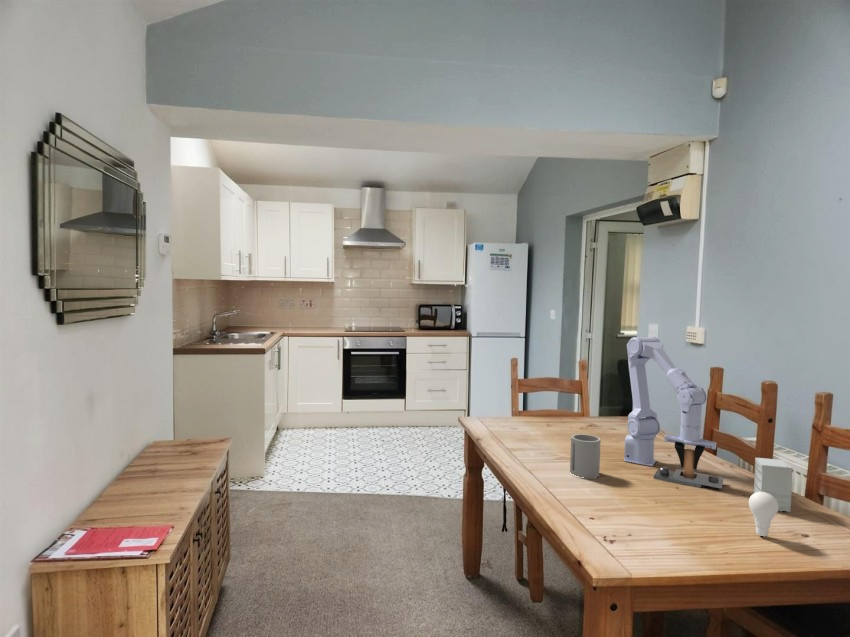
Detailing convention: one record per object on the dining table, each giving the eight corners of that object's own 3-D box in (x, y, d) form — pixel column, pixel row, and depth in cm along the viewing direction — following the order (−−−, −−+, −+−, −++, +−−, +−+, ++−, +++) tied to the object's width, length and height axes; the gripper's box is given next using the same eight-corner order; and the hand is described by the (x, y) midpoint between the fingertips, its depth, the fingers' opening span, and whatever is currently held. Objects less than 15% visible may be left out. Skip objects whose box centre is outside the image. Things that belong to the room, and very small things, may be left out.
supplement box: (782, 503, 149) (784, 459, 149) (791, 513, 142) (793, 467, 142) (752, 499, 152) (754, 456, 151) (759, 509, 145) (761, 464, 144)
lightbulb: (741, 531, 131) (743, 488, 130) (764, 530, 131) (766, 487, 131) (758, 542, 125) (761, 497, 124) (782, 542, 125) (785, 497, 125)
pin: (681, 478, 165) (683, 450, 165) (683, 475, 168) (685, 448, 168) (693, 480, 164) (694, 452, 163) (694, 477, 166) (696, 450, 166)
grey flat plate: (653, 478, 168) (654, 469, 168) (658, 471, 174) (658, 463, 174) (721, 491, 157) (721, 482, 157) (723, 483, 164) (723, 475, 164)
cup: (603, 474, 171) (605, 438, 171) (591, 481, 164) (592, 443, 164) (578, 467, 177) (579, 432, 177) (565, 473, 171) (566, 437, 170)
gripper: (663, 424, 166) (661, 466, 166) (715, 431, 158) (713, 475, 158) (667, 419, 171) (665, 460, 172) (717, 426, 163) (715, 469, 164)
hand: (688, 467), depth 166 cm, fingers closed on pin, 3 cm apart
